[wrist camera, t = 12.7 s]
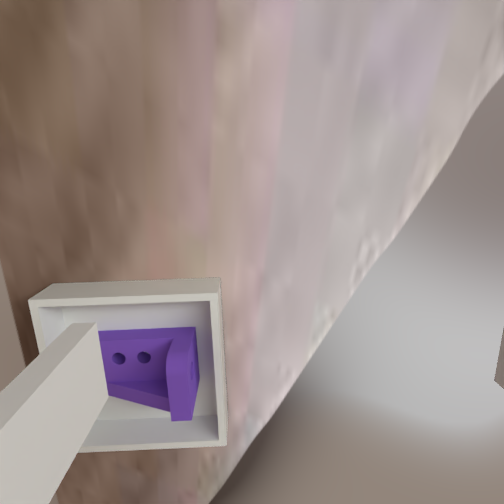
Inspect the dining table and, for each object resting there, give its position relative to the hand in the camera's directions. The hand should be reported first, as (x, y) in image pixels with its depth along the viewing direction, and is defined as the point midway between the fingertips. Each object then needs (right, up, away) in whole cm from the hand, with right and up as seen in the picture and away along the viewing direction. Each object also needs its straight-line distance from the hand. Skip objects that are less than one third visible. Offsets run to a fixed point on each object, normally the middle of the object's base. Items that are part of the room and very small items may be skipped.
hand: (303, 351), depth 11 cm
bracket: (-14, -9, +29) cm, 34 cm away
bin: (-14, -9, +30) cm, 34 cm away
